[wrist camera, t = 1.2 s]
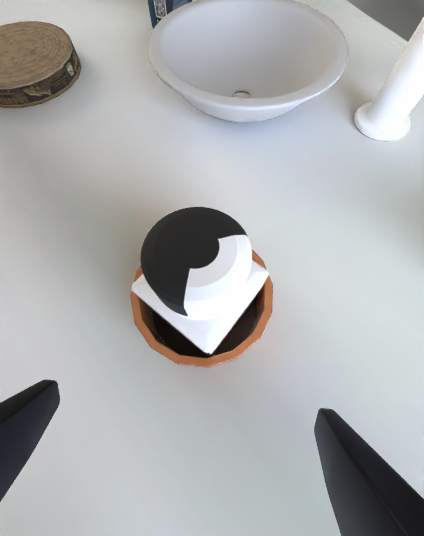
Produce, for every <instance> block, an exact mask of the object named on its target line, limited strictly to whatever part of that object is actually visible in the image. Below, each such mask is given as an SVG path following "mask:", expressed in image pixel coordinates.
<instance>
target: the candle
mask: <svg viewBox="0 0 424 536" xmlns="http://www.w3.org/2000/svg"><path fill="white" fill-rule="evenodd" d="M423 95H424V17H423V19H422V20H421V22H420V24H419V26H418V27H417V29H416V31H415V32H414V34H413V36H412V37H411V39H410V41H409V42H408V44H407V46H406V47H405V49H404V51H403V52H402V54H401V56H400V58H399V59H398V61H397V63H396V64H395V66H394V68H393V69H392V71H391V73H390V74H389V76H388V78H387V79H386V81H385V83H384V85H383V86H382V88H381V90H380V91H379V93H378V95H377V96H376V98H375V100H374V101H371V102H367V103H365V104H363V105H361V106H360V107H359V108H358V110H357V111H356V113H355V116H354V122H355V125H356V127H357V128H358V129H359V131H360V132H362V133H363V134H364V135H366V136H368V137H370V138H372V139H375V140H379V141H395V140H398V139H401V138H402V137H404V136H405V135H406V134H407V133H408V131H409V130H410V128H411V119H410V117H409V115H408V114H409V113H410V112H411V111H412V109H413V108H414V107H415V105H416V104H417V103H418V101H419V100H420V99H421V97H422V96H423Z"/></svg>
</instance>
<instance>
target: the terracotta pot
mask: <svg viewBox="0 0 424 536" xmlns="http://www.w3.org/2000/svg"><path fill="white" fill-rule="evenodd" d="M252 260H253V261H254V262H256V263H257V264H259V265H260V266H262V267H263V268H265V269H266V267H265V264H264V262H263V260H262V259H261V258H260V257H259V256H258V255H257V254H256V253H255V252H254V251H253V250H252ZM266 270H267V269H266ZM142 274H143V272H142V268H141V266H140V267H139V268H138V270H137V272H136V276H135V280H134V282H135V281H136V280H137V279H138V278H139V277H140V276H141V275H142ZM256 300H257V302H256V321H255V323H254V325H253V327H252V329H251V331H250V333H249V335H248V337H247V339H246V340H244V341H243V342H242V343H241V344H240V345H239V346H237V347H236V348H235V349H234V350H232V351H229V352H225V353H222V354H219V355H215V356H212V357H209V358H201V357H193V356H185V355H181V354H179V353H178V352H176V351H174V350H173V349H171V348H169V347H168V346H167V345H166V344H165V342H164V341H163V339H162V338H161V336H160V335H159V334H158V332H157V331H156V329H155V325H154V320H153V315H152V309H151V308H149V307H148V306H147V305H146V304H145V303H144V302H143V301H142V300H141V299H140V298H139V297H138V296H137V295H136V294H135V293H134V292H133V291H132V292H131V303H132V309H133V315H134V322H135V324H136V326H137V327H138V329H139V330H140V332H141V334H142V335H143V337H144V338H145V340H146V341H147V343H148V344H149V346H150V347H151V348H152V349H154V350H156V351H157V352H159V353H160V354H162V355H164V356H165V357H167V358H168V359H170V360H172V361H173V362H175V363H177V364H183V365H190V366H198V367H206V368H210V367H213V366H216V365H219V364H223V363H226V362H229V361H232V360H234V359H236V358H238V357H239V356H240V355H241V354H243V353H244V352H245V351H246V350H247V349H248V348H249V347H251V346H252V345H253V344H254V343H255V342H256V341H257V340H259V339H260V337H261V335H262V333H263V331H264V329H265V327H266V324H267V322H268V320H269V318H270V316H271V314H272V300H273V285H272V282H271V279H270V277H269V274H268V277H267V279H266V280H265V282H264V284H263V286H262V287H261V289H260V291H259V293H258V294H257V296H256Z"/></svg>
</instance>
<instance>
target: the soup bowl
mask: <svg viewBox="0 0 424 536" xmlns="http://www.w3.org/2000/svg"><path fill="white" fill-rule="evenodd" d="M348 56H349V48H348V43H347V41H346V38H345V36H344V34H343V32H342V31H341V30H340V28H339V27H338V26H337V25H336V24H335V23H334V22H333V21H332V20H331V19H330V18H328V17H327V16H326V15H324V14H323V13H321V12H319V11H318V10H316V9H314V8H312V7H310V6H308V5H305V4H303V3H300V2H297V1H294V0H196V1H193V2H190V3H188V4H185V5H183V6H181V7H179V8H177V9H175V10H174V11H172V12H170V13H169V14H168V15H166V16H165V17H164V18H163V19H161V21H160V22H159V23H158V24H157V25H156V26H155V28H154V29H153V31H152V33H151V35H150V38H149V41H148V57H149V60H150V63H151V66H152V68H153V69H154V71H155V73H156V74H157V75H158V77H159V78H160V79H161V80H162V81H163V82H164V83H165V84H166V85H168V86H169V87H170V88H172V89H173V90H174V91H176V92H178V93H179V94H181V95H182V96H183V97H184V98H185V99H186V100H187V101H188V102H189V103H191V104H192V105H193V106H195V107H196V108H198V109H199V110H201V111H203V112H204V113H206V114H209V115H211V116H213V117H216V118H219V119H223V120H227V121H233V122H257V121H263V120H268V119H271V118H275V117H277V116H280V115H283V114H285V113H287V112H289V111H291V110H292V109H294V108H296V107H297V106H299V105H300V104H302V103H303V102H305V101H307V100H310V99H312V98H314V97H316V96H318V95H320V94H321V93H323V92H325V91H326V90H327V89H329V88H330V87H331V86H332V85H333V84H334V83H335V82H336V81H337V80H338V79H339V77H340V76H341V75H342V73H343V71H344V70H345V68H346V65H347V62H348ZM238 91H245V92H247V93H249V95H250V97H249V98H237V97H234V96H233V95H234V93H235V92H238Z"/></svg>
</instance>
